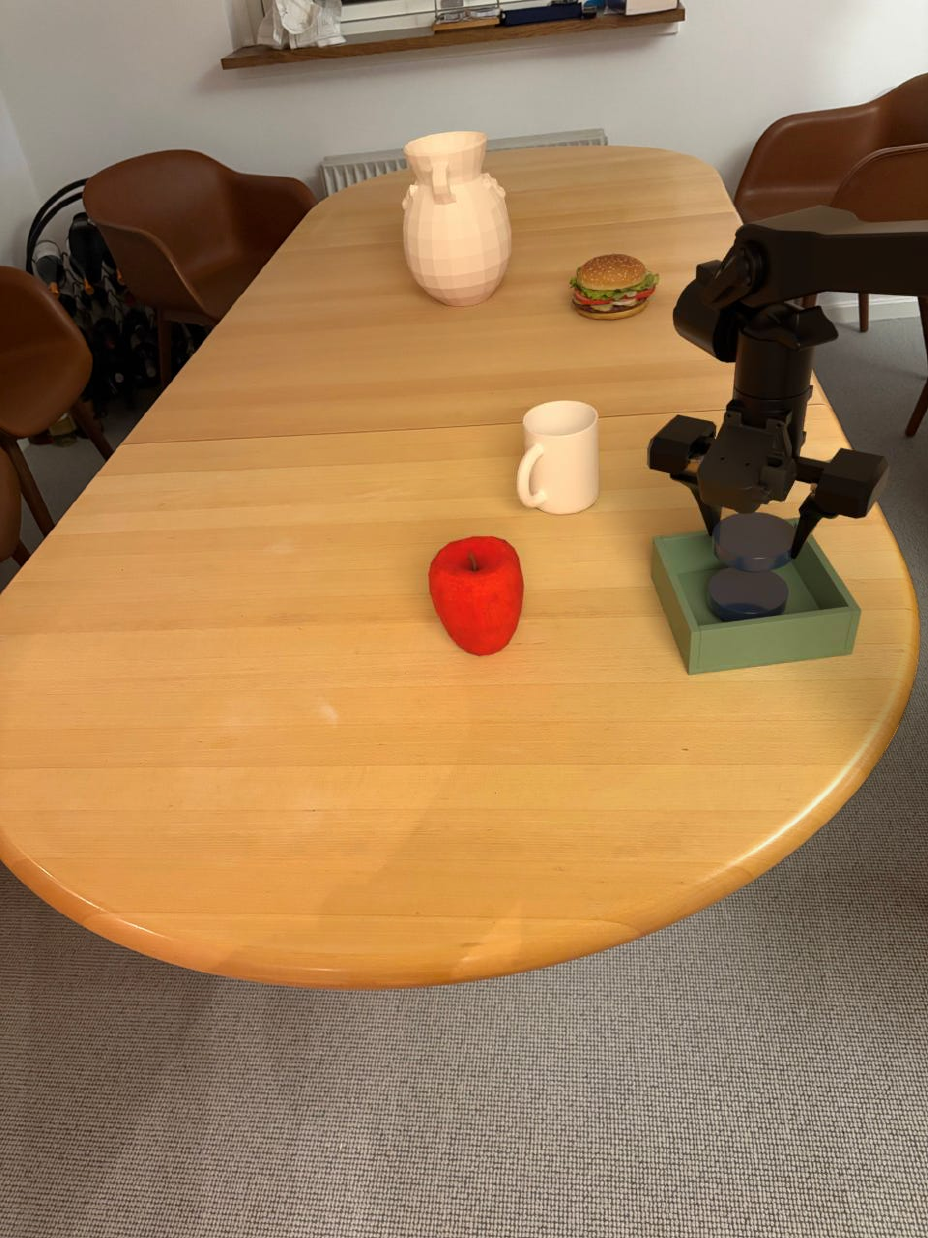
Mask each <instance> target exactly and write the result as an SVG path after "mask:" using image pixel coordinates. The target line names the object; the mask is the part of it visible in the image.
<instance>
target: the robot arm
mask: <svg viewBox="0 0 928 1238" xmlns="http://www.w3.org/2000/svg"><path fill="white" fill-rule="evenodd" d="M734 236H735V238H734V240H733V244H732V246H731V247H730V248H729V249H728V251H727V253H726V254H725V256H724V257H723V259H722V260H720V259H713V260H710V261H706V262H701V263H699V264H696V266H695V278H694V279H693V280H692V281H690V282H689V283H688V284H687V285H686V286H685V287H684V289H683V290H682V292H681V293H680V295H679V297H678V299H677V300H676V304H675V307H673V309H672V325H673V328H674V329H675V332H676V333H677V334H678V335H679V336H680V337H681V338H682V339H684V340H686V341H687V342H689V343H690V344H692V345H694V346H695V347H697V348H699V350H702V351H703V352H704V353H707V354H708V355H710V356H711V357H713V358H715V359H716V360H718V361H719V362H721V363H726V364H734V370H733V371H734V372H733V385H732V387H733V388H732V397H731V399H730V400H729V402H727V404H726V405H725V412H724V413H723V421H722V424H721V426H720V428H719V430H718V432H717V428H718V427H717V425H716V423H715V422H714V421H712V420H707V419H703V418H697V417H693V416H688V415H683V414H680V413H679V414H676V415H675V416H674V417H672V418H671V419H669V421H668V422H667V423H666V424H664V426H663V427H661V429H660V430H658V431H657V432H656V433H655V434H654V435H653V436H652V437H651V438H650V439H649V441H648V444H647V447H646V466H647V467H648V469H649V470H652V471H657V472H661V473H665V474H668V475H669V479H671V480H672V481H673V482H676V483H679V484H681V485H683V486H685V487H686V488H688V489H689V491H690V493H691V494H692V497H693V498H694V499H695V502H696V504H697V508H698V509H699V512H700V515H701V518H702V520H703V523H704V526H705V530H707V531H708V534H709V536H710V537H712V533H713V529H714V527H715V525H716V524H717V523H718V522H719V521H720V520H722V513H723V508H724V509H728V510H732V511H734V512H735V513H741V514H750V513H753V512H757V511H758V509H759V508H760V507H761V505H766V506H767V505H769V503H770V502H772V501H775V502H777V503H778V502H779V503H783V502H785V501H787V498H788V496H789V494H790V492H791V490H792V488H793V486H794V485H795V482H799V483H803V484H808V485H810V486H809V487H810V488H809V491H810V492H809V494H808V495H807V496H806V498H805V499H804V500H803V502H802V503H801V504H800V506H799V507H798V509H797V511H798V513H799V517H800V518H799V521H798V525H797V529H796V532H795V536H794V540H793V543H792V548H791V559H794V560H795V559H796V558H797V557H798V555H799V554H800V552H801V550H802V549H803V547H804V545H805V544H806V542H807V540H808V539H809V537H810V535H811V534H812V535H813V532H814V530H815V529H816V527H817V525H818V524H819V522H820V521H821V520H823V519H827V520H834V519H837V518H838V517H839V516H842V517H846V518H850V519H855V520H858V519H864V518H866V517H867V516H868V514H869V513H870V511H871V510H872V508H873V507H874V505H875V504H876V502H877V500H878V499H879V498H880V496H881V494H882V493H883V491H884V490H885V488H886V486H887V484H888V480H889V475H890V471H891V466H890V464H889V463H888V461H887V459H886V457H885V456H884V455H879V454H874V453H870V452H866V451H861V450H855V449H850V448H846V447H840V448H839V449H838V451H837V452H836V453H835V455H834V456H833V457H832V458H831V459H827V460H822V459H821V460H820V459H816V458H812V457H807V456H802V455H801V451H802V447H803V446H804V444H806V439H807V431H806V430H805V423H806V416H807V410H808V409H807V408H808V402H809V401H810V400H811V399H812V398H813V391H814V385H813V384H811V381H812V374H813V373H812V372H813V368H814V367H813V365H814V359H815V351H816V347H818V346H821V345H824V344H827V343H832V342H834V341H837V340H838V338H839V335H840V333H839V331H838V329H837V327H836V325H835V323H834V322H833V321H831V319H829V317H827V316H826V314H825V312H824V310H823V307H822V306H821V305H820V304H817V305H814V306H810V307H809V306H808V307H806V308H804V307H802V306H800V305H797V304H796V303H793V302H790V301H794V300H798V299H802V298H806V297H810V296H815V295H818V294H823V293H840V294H841V293H843V294H860V295H862V294H863V295H879V296H895V297H896V296H897V297H898V296H899V297H912V298H913V297H916V298H928V219H922V220H921V219H920V220H897V221H878V222H877V221H875V222H870V221H867V220H860V219H859V217H857V216H856V214H854V212H852V211H851V210H846V209H842V208H836V207H833V206H827V205H819V204H818V205H815V206H811V207H806V208H803V209H798V210H794V211H791V212H787V213H783V214H779V215H775V216H771V217H767V218H763V219H759V220H755V221H751V222H747V223H744V224H741V225H740V226H739V227H738V228H736V230H735V232H734Z"/></svg>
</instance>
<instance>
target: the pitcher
mask: <svg viewBox="0 0 928 1238" xmlns="http://www.w3.org/2000/svg"><path fill="white" fill-rule="evenodd" d="M488 138H489V137H488V135H486V134H485V133H484V132H480V131H448V132H441V133H434V134H429V135H426V136H423V137H419V138H417V139H414V140H411V141H408V143H407V144H406V145H404V147H403V149H402V150H403V153H404V157H405V160H406V162H407V165H408V166H409V168H410V169H411V171H412V172H413V174H414V175H415V177H416V178H415V180H414V181H415V182H414V184H409V186H408V188H407V190H406V193H405V197H404V198H403V200H402V202H401V206H402V209H403V210H404V216H403V224H402V226H403V227H402V233H403V236H402V237H403V249H404V255H405V260H406V261H405V262H406V265H407V267H408V269H409V272H410V273H411V275H412V277H413V280H414V281H415V282H416V283H417V284H418V285H419V286H420V287H421V288H422V289H423V290H424V291H425V292H426V293H427V294H428V295H429V296H431V297H432V298H434V299H436V300H437V301H439V302H440V303H442V304H443V305H446V306H450V307H470V306H475V305H478V304H481V303H483V302H486V301H487V300H488V299H490V298H491V297H492V295H493V294H494V292H495V291H496V289H497V288H498V287H499V284H500V283H501V281H502V280H503V278H504V276H505V273H506V271H507V269H508V267H509V263H510V260H511V259H510V258H511V254H512V250H513V249H512V248H513V247H512V246H513V243H512V242H513V241H512V237H513V236H512V235H513V233H512V231H513V230H512V226H511V222H510V217H509V214H508V209H507V205H506V200H505V198H506V195H507V193H506V191H505V189H504V187H502V186H500V185H499V183H498V181H497V178H495V177H492V176H491V175H490V173H489V172H485V173H482V166H483V163H484V159H485V155H486V152H487V147H488Z"/></svg>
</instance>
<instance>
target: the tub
mask: <svg viewBox="0 0 928 1238" xmlns="http://www.w3.org/2000/svg"><path fill="white" fill-rule="evenodd" d="M799 518H800V516H797V517H793V518H792V517H791V518H783V519H784V520H786V521H787V522H789V523H790V524H791V525H792V526H793V527H794V529H795V530H796V529H797V525H798V521H799ZM651 543H652V545H651V546H652V547H651V580H652V582H653V585H654V587H655V591H656V593H657V595H658V599H659V601H660V604H661V606H662V609H663V611H664V614H665V617H666V619H667V622H668V625H669V627H670V630H671V632H672V636H673V638H674V640H675V643H676V646H677V648H678V651H679V654H680V656H681V659H682V661H683V664H684V666H685V669H686V672H687V675H688V676H693V675H701V674H709V673H717V672H718V673H719V672H725V671H731V670H733V671H734V670H740V669H747V668H756V667H763V666H771V665H779V664H785V663H787V664H788V663H793V662H802V661H809V660H816V659H817V660H818V659H825V658H833V657H841V656H849V655H852V654H853V651H854V647H855V642H856V637H857V633H858V630H859V625H860V620H861V616H862V609H861V607H860V606H859V604H858V603H857V601H856V599H855V598H854V596H853V595H852V594H851V592H850V590H849V589H848V587H847V586H846V584H845V583H844V581H843V579H842V578H841V576H840V575H839V573H838V572H837V571H836V569H835V568H834V566H833V564H832V563H831V561H830V559H829V558H828V557H827V555H826V553H825V552H824V550H823V549H822V548H821V546H820V544H819V543H818V541H817V540H816V538H815V537H814V536H813V533H812V534H811V535H810V537H809V539H808V540H807V542H806V544H805V545H804V547H803V549H802V550H801V552H800V554H799V555H798V557H797V558H796V559H795V560H794V559H792V560H791V561H790V562H789V563H787V564H786V565H784V566H782V567H780V568H778V569H774V570H770V571H772V572H774V573H776V574H777V575H779V576H780V577H781V578H782V579H783V580H784V581H785V583H786V584H787V587H788V599H787V605H786V609H785V611H784V612H783V614H782V615H779V616H771V617H764V618H756V619H748V620H741V621H733V622H729V621H726V620H724V619H722V618H720V617H719V616H717V615H716V614H715V613H714V612H713V611H712V610H711V609H710V607H709V605H708V603H707V591H708V583H709V581H710V579H711V578H712V576H713V575H715V574H716V573H717V572H719V571H721V570H723V569H725V568H728V567H729V566H727V565H725V564H724V563H722V562H721V561H720V560H718V559H717V558H716V556H715V555H714V553H713V551H712V547H711V546H712V537H710V536H709V534H708V531H707V529H701V530H695V531H694V530H692V531H686V532H679V533H678V532H677V533H671V534H666V535H664V534H663V535H655V536H652V541H651Z"/></svg>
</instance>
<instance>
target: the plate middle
mask: <svg viewBox="0 0 928 1238" xmlns="http://www.w3.org/2000/svg"><path fill="white" fill-rule="evenodd" d="M784 519H785V518H782V517H780V516H778V515H775V514H773V513H772V514H771V513H766V512H762V511H761V512H760V511H755V512H753V513H750V514H741V513H738V512H736V513H734V514H730V515H727V516H725V517H723V518H721V520H720V521H719V522H718V523H717V524H716V525H715V527H714V529H713V533H712V546H711V547H712V551H713V553H714V555H715V556H716V558H717V559H718V560H720V561H721V562H722V563H724V564H725V565H727V566H729V567H732V568H735V569H737V570H740V571H744V572H751V573H758V572H765V571H770V570H774V569H778V568H780V567H782V566H784V565H786V564H787V563H789V562H790V561H791V560H792V559H791V548H792V543H793V540H794V536H795V532H796V530H795V529H794V527H793V526H792V525H791V524H790V523H789V522H787V521H786V520H784Z"/></svg>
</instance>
